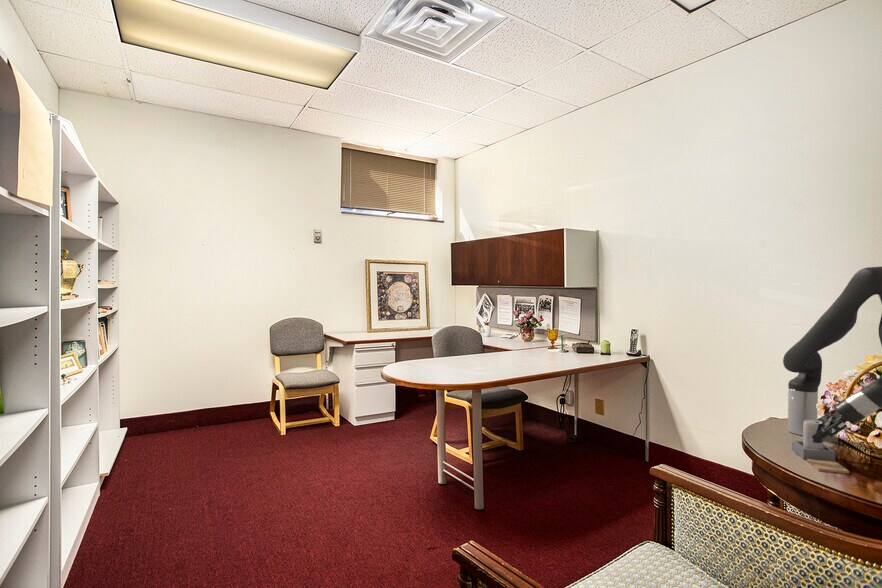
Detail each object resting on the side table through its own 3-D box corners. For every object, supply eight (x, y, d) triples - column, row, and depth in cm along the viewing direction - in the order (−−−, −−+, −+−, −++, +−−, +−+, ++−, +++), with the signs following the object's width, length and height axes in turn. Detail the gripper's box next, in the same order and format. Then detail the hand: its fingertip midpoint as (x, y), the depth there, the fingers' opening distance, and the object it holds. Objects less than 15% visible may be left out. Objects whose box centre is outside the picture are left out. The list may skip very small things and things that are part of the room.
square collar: (791, 449, 166) (791, 440, 166) (821, 452, 163) (821, 442, 163) (803, 459, 157) (803, 449, 157) (835, 462, 155) (835, 451, 155)
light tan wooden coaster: (807, 461, 156) (807, 458, 156) (835, 463, 154) (835, 461, 154) (818, 470, 148) (818, 468, 148) (849, 473, 146) (849, 471, 146)
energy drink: (826, 458, 158) (827, 424, 157) (810, 458, 158) (810, 424, 157) (815, 452, 163) (815, 419, 162) (799, 452, 163) (799, 419, 163)
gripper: (841, 393, 161) (799, 421, 168) (850, 403, 149) (805, 432, 155) (861, 411, 159) (818, 438, 165) (872, 422, 146) (825, 451, 153)
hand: (812, 435), depth 160 cm, fingers open, 8 cm apart
